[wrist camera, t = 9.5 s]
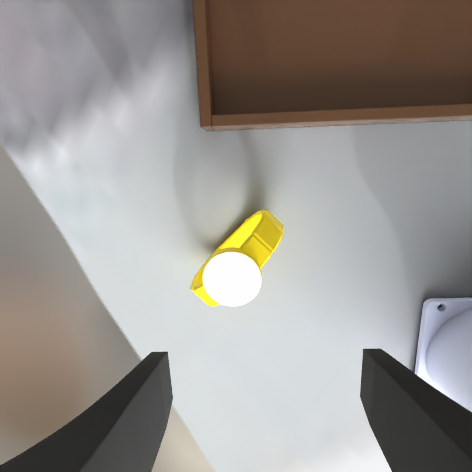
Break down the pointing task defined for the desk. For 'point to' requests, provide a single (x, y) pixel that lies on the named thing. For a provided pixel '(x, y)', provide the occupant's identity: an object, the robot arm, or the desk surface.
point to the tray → (332, 62)
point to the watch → (239, 262)
